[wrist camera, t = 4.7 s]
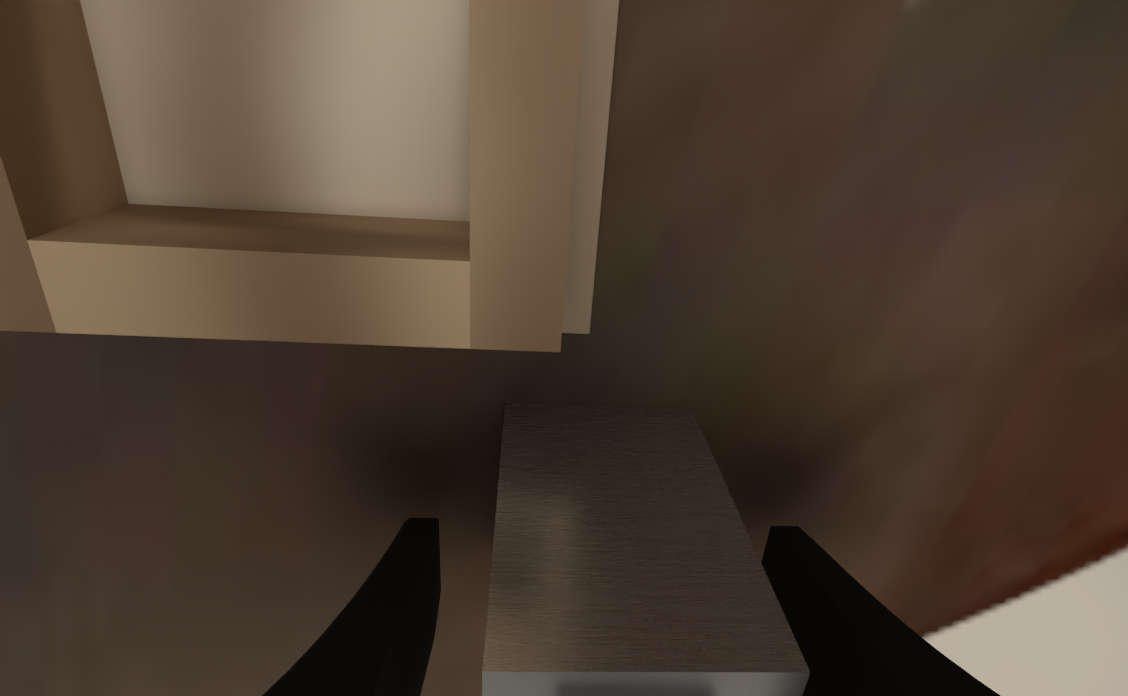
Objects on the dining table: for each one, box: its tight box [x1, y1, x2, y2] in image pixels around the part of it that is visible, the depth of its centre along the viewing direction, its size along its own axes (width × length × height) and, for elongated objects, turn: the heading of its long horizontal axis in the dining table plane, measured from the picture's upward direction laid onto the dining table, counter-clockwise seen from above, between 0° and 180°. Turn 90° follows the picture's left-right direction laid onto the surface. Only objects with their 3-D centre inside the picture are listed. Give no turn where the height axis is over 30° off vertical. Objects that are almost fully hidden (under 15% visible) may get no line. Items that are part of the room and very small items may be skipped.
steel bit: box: [482, 403, 810, 696], centre depth 12 cm, size 4×4×8 cm
